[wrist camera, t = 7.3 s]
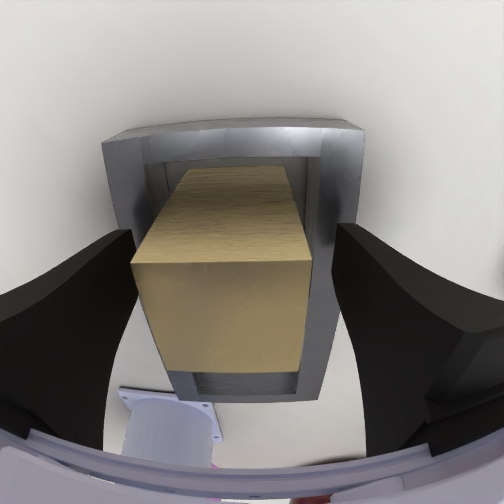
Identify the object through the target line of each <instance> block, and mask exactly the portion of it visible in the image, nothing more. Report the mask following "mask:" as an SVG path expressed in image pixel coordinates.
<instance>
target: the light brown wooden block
mask: <svg viewBox="0 0 504 504" xmlns="http://www.w3.org/2000/svg"><path fill="white" fill-rule="evenodd" d="M130 265H131V268H132V272H133V275H134V279H135V282H136V285H137V288H138V292H139V295H140V298H141V301H142V304H143V307H144V310H145V313H146V316H147V319H148V322H149V325H150V327H151V330H152V333H153V336H154V339H155V341H156V344H157V347H158V349H159V352H160V355H161V357H162V360H163V362H164V365H165V367H166V370H172V371H189V372H217V373H264V372H292V371H298V370H299V363H300V357H301V350H302V343H303V335H304V328H305V320H306V312H307V304H308V296H309V287H310V278H311V268H312V257H311V254H310V250H309V247H308V243H307V240H306V237H305V233H304V230H303V226H302V223H301V220H300V216H299V213H298V210H297V207H296V203H295V200H294V197H293V194H292V191H291V188H290V184H289V181H288V178H287V175H286V172H285V169H284V166H241V167H216V168H198V169H188V170H187V172H186V173H185V175H184V176H183V178H182V179H181V181H180V182H179V184H178V185H177V187H176V188H175V190H174V191H173V193H172V194H171V196H170V197H169V199H168V201H167V202H166V204H165V205H164V207H163V208H162V210H161V212H160V213H159V215H158V217H157V218H156V220H155V221H154V223H153V225H152V226H151V228H150V230H149V231H148V233H147V235H146V236H145V238H144V240H143V241H142V243H141V245H140V247H139V248H138V250H137V252H136V254H135V255H134V257H133V259H132V261H131V262H130Z"/></svg>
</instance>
